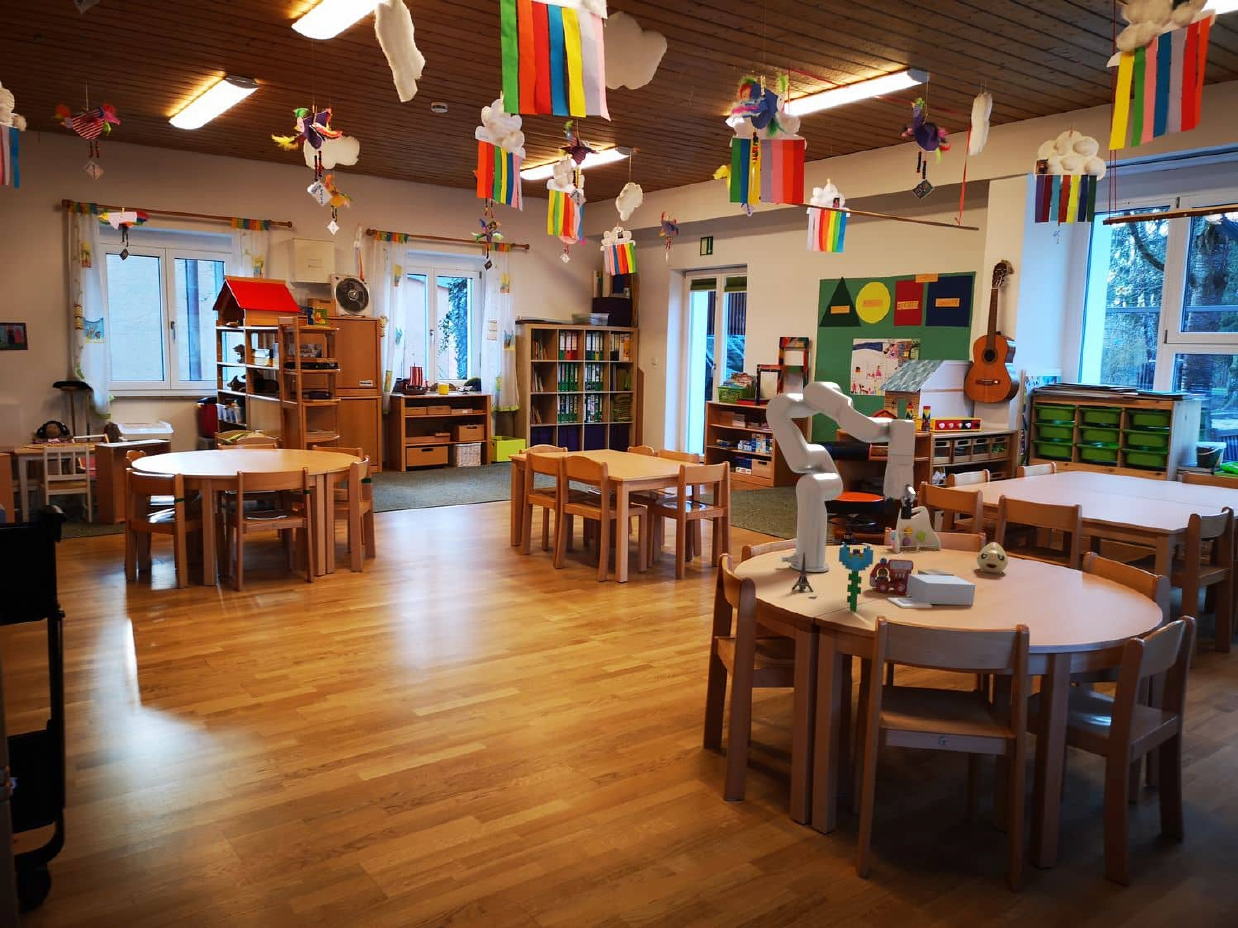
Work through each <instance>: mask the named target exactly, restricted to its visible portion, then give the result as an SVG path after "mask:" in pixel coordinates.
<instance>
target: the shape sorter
mask: <svg viewBox="0 0 1238 928" xmlns="http://www.w3.org/2000/svg"><path fill="white" fill-rule="evenodd" d="M916 512H919V513H917V514H915V515H913V516H912V515H911V519H910V520H902V519H901V508H900V509H899V512H898V516H897V520H896V521H897V523H896V528H895V531H892V532H891V535H890V536H889V537H890V539H891V541H893V544H892V551H893V550H894V552H895V553H896V552H897V553H896V554H904V553H906V551H900V550H901V549H900V548H915V550H911V551H910V550H909V552H908V553H915V552H916V553H918V551H920V548H927V549H931V550H936V549H938V550H937V551H942V545H941V541H940V538H939V536H938V535H937V533H935V531H934V529H933V528H932V525H931V521H930V514H929V511H928V509H927V508H926V506H917V507H914V508H912V514H913V513H916ZM898 532H911V533H898ZM899 552H900V553H899Z"/></svg>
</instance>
